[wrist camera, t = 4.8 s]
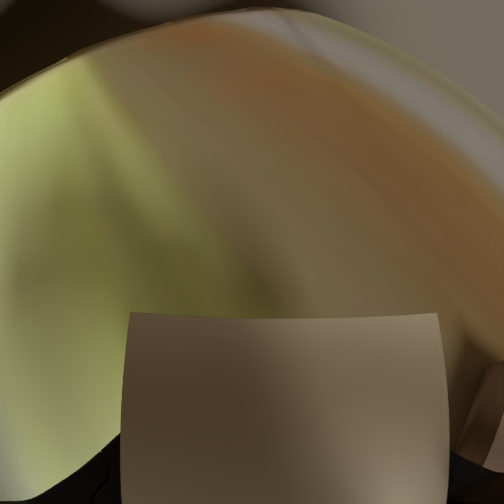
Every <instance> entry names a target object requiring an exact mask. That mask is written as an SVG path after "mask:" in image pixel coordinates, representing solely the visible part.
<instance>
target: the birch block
mask: <svg viewBox="0 0 504 504" xmlns="http://www.w3.org/2000/svg"><path fill="white" fill-rule="evenodd" d="M449 452H450V432H449V405H448V391H447V380H446V370H445V361H444V354H443V346H442V340H441V333H440V328H439V322H438V316H437V313H429V314H416V315H401V316H383V317H361V318H325V319H255V318H219V317H196V316H178V315H162V314H148V313H136V312H130V319H129V326H128V335H127V343H126V353H125V363H124V375H123V388H122V405H121V432H120V472H121V497H122V504H446V502H447V491H448V478H449Z"/></svg>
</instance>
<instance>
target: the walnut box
mask: <svg viewBox="0 0 504 504" xmlns="http://www.w3.org/2000/svg"><path fill="white" fill-rule="evenodd" d="M453 452H454V453H456V454H458V455H460V456H462V457H464V458H466V459H468V460H470V461H472V462H474V463H476V464H479V465H481V466H483V467H485V468H487V469H490V470H492V471H496V472H504V361H503V362H500V363H497V364H494V365H492V366H489V367H486V368H484V371H483V374H482V377H481V381H480V384H479V387H478V390H477V393H476V396H475V399H474V402H473V404H472V407H471V410H470V413H469V415H468V418H467V420H466V423H465V425H464V428H463V430H462V432H461V435H460V437H459V439H458V442H457V444H456V446H455V448H454V450H453Z"/></svg>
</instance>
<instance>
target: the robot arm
mask: <svg viewBox="0 0 504 504" xmlns="http://www.w3.org/2000/svg"><path fill="white" fill-rule="evenodd" d="M0 504H122V497H121V472H120V433H119V434H118V435H117V436H116V437H115V438H114V439H113V440H112V441H111V442H110V443H109V444H107V445H106V446H105V447H104V448H103V449H102V450H101V452H99V453H97V454H96V455H95V456H94V457H93V458H92V459H91V460H89V461H88V462H87V463H86V464H85V465H83V466H82V467H81V468H80V469H78V470H77V471H76V472H74V473H73V474H71V475H70V476H69V477H67V478H66V479H64V480H62V481H61V482H59V483H58V484H56V485H55V486H53V487H52V488H50V489H48V490H47V491H45V492H44V493H42V494H40V495H38V496H37V497H34V498H32V499H28V500H23V501H0ZM446 504H504V472H496V471H492V470H490V469H487V468H485V467H483V466H481V465H479V464H476V463H474V462H472V461H470V460H468V459H466V458H464V457H462V456H460V455H458V454H456V453H454V452H452V451H450V452H449V478H448V491H447V502H446Z"/></svg>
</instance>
